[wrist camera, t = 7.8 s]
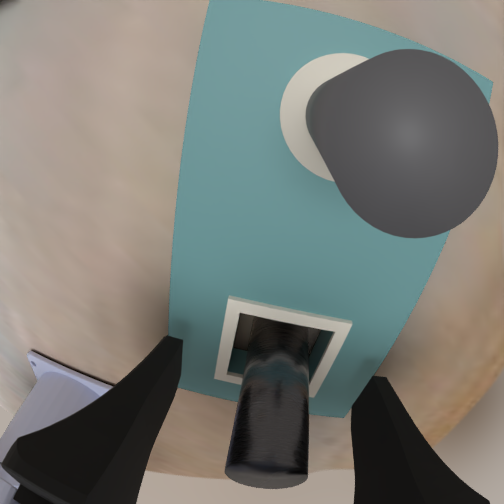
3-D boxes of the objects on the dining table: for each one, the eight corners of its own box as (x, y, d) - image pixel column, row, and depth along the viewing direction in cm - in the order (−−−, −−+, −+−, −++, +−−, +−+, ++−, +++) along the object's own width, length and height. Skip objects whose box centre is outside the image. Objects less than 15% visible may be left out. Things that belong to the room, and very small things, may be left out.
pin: (299, 350, 14) (294, 491, 8) (248, 340, 14) (221, 481, 8) (314, 310, 13) (319, 465, 7) (257, 299, 13) (229, 454, 7)
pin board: (341, 395, 15) (348, 514, 9) (176, 363, 16) (131, 479, 9) (471, 81, 8) (621, 100, 2) (221, 8, 8) (121, -92, 2)
